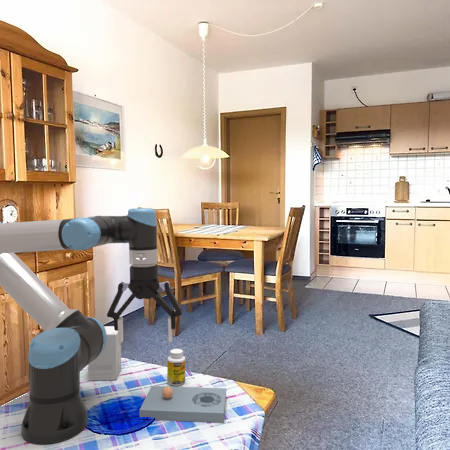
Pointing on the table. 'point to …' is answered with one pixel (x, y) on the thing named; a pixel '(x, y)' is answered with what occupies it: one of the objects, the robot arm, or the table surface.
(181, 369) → the supplement bottle
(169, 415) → the plate
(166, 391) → the ball
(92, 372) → the supplement box
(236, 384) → the table surface
